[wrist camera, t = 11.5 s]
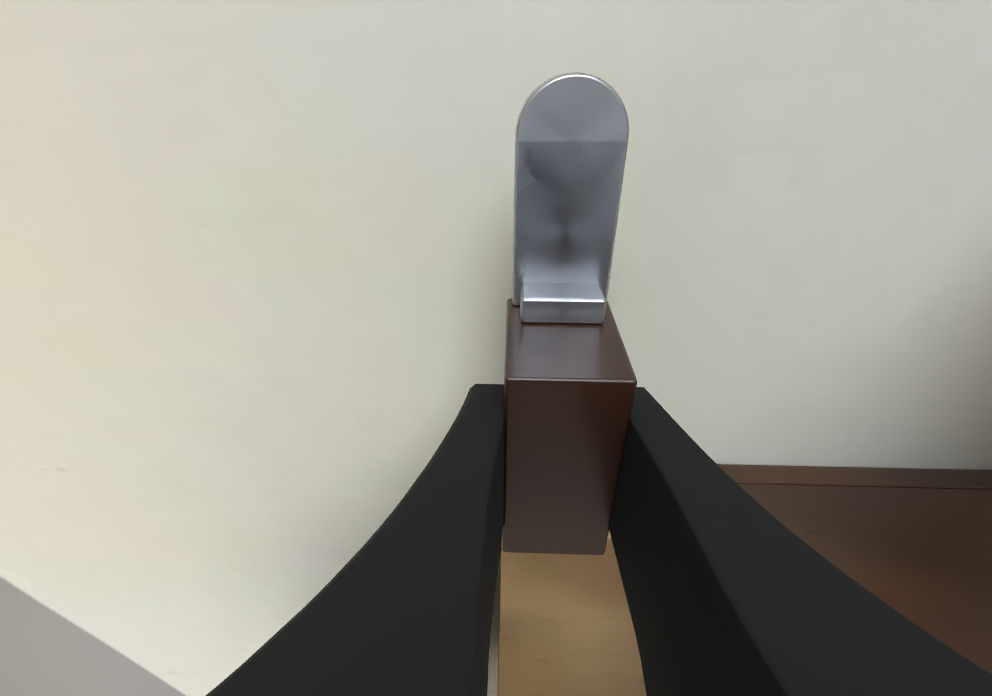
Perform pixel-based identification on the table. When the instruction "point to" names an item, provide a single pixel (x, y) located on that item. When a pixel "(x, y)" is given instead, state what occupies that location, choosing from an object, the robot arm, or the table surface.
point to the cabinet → (896, 538)
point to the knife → (565, 322)
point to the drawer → (566, 627)
